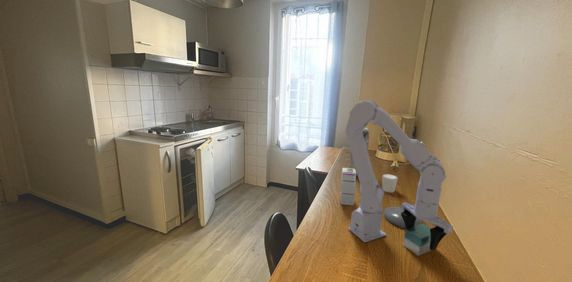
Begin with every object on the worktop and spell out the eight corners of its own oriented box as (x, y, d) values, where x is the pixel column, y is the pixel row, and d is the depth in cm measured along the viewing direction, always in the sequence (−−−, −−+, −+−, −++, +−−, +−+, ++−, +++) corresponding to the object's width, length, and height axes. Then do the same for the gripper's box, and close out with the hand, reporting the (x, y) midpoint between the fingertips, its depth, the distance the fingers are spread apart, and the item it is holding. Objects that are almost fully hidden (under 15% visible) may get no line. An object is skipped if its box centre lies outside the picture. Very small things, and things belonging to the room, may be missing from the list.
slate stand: (406, 232, 77) (406, 228, 76) (376, 214, 88) (377, 210, 88) (431, 224, 82) (431, 220, 82) (400, 207, 93) (400, 204, 93)
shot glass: (387, 193, 106) (388, 179, 104) (377, 187, 112) (379, 174, 111) (399, 192, 108) (401, 178, 106) (389, 186, 114) (390, 173, 113)
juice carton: (348, 175, 127) (352, 128, 121) (349, 169, 137) (353, 125, 131) (365, 177, 125) (370, 129, 119) (364, 171, 135) (369, 126, 129)
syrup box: (354, 205, 94) (357, 172, 91) (339, 204, 95) (342, 171, 92) (353, 199, 100) (356, 168, 96) (339, 198, 101) (341, 167, 97)
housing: (418, 256, 66) (421, 238, 65) (403, 245, 70) (405, 229, 69) (435, 248, 69) (438, 232, 68) (420, 239, 74) (422, 223, 72)
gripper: (462, 209, 62) (453, 252, 65) (413, 188, 74) (408, 225, 77) (446, 214, 59) (438, 259, 62) (398, 191, 72) (393, 230, 75)
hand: (420, 240), depth 69 cm, fingers open, 7 cm apart
